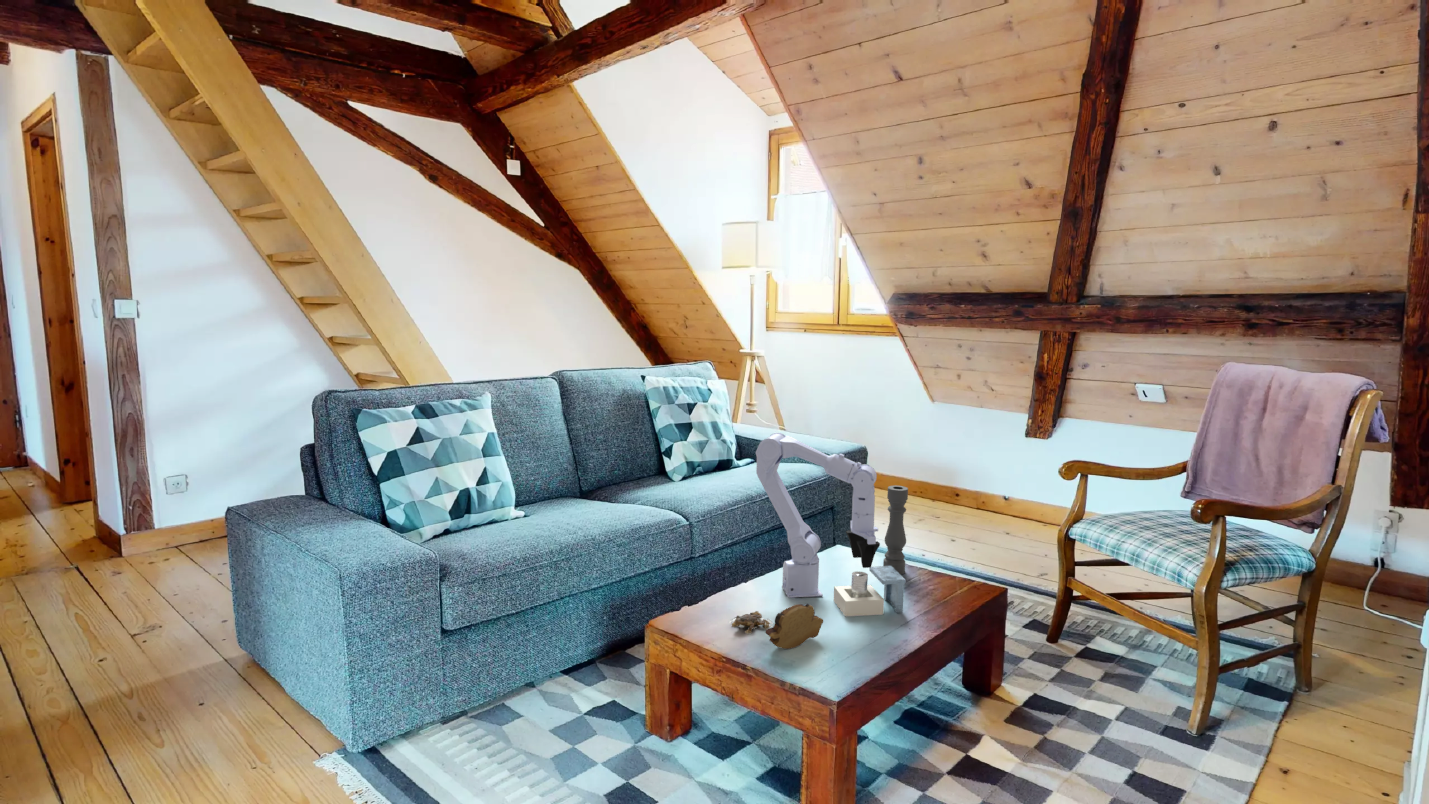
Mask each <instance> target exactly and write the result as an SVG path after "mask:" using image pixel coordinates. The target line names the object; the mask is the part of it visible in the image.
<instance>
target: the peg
mask: <svg viewBox="0 0 1429 804" xmlns="http://www.w3.org/2000/svg"><path fill="white" fill-rule="evenodd" d="M868 575H869V574H868V573H867V572H864V571H853V572H852V573H851V585H850V586H851V598H860V597H867V585H868V580H869V577H868Z"/></svg>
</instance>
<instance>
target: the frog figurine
mask: <svg viewBox="0 0 1429 804" xmlns="http://www.w3.org/2000/svg"><path fill="white" fill-rule="evenodd" d="M728 623H729V624H731V627H732V628H735V627H737V628H742V629H743V628H745V629H747V630H745V631H744V633H745V634H746V635H750V634H752V633H753V630H756V629H758V628H760V626H762V629H763V630H764V631H766V630H767V629H770V627H771V628H773V627H774V623H773V621H772V620H771V619H769V618H766V619H765V618H763V615H762V614H761V613H760V612H759V610H755V611H752V612H750V613H746V614H742V615H741V616H740V615H736V617H733V618H732V619H730V620H729V621H728ZM757 627H758V628H757ZM752 628H753V629H752ZM755 628H756V629H755Z"/></svg>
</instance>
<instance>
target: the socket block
mask: <svg viewBox="0 0 1429 804" xmlns="http://www.w3.org/2000/svg"><path fill="white" fill-rule="evenodd" d="M833 602H834V604H835V605H836V604H837V605H836V606H837V608H838V609H839V608H840V609H839V610H840V611H841V613H842V612H843V613H842V614H843V616H844V617H857V616H858V617H859V616H860V617H861V616H863V617H865V616H877V615H878V616H881V615H883V616H884V609H885V608H884V607H885V606H884V605H885V604H884V603H885V600H884V597H882V596H881V594H879V592H878V591H877V590H876V589H875V588H874V587H873V586H872V584H867V597H860V598H851V585H841V586H840V585H837V586H833Z"/></svg>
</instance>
